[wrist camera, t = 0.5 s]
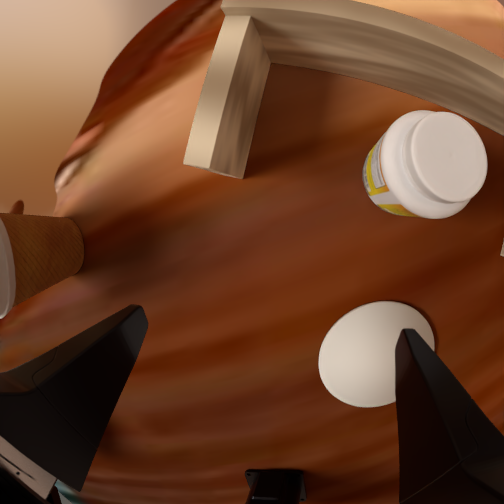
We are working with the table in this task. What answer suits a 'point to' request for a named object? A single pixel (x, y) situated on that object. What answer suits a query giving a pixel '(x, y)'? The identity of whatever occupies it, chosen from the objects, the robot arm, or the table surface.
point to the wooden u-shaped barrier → (333, 67)
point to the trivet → (367, 352)
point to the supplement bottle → (426, 165)
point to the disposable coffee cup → (35, 255)
